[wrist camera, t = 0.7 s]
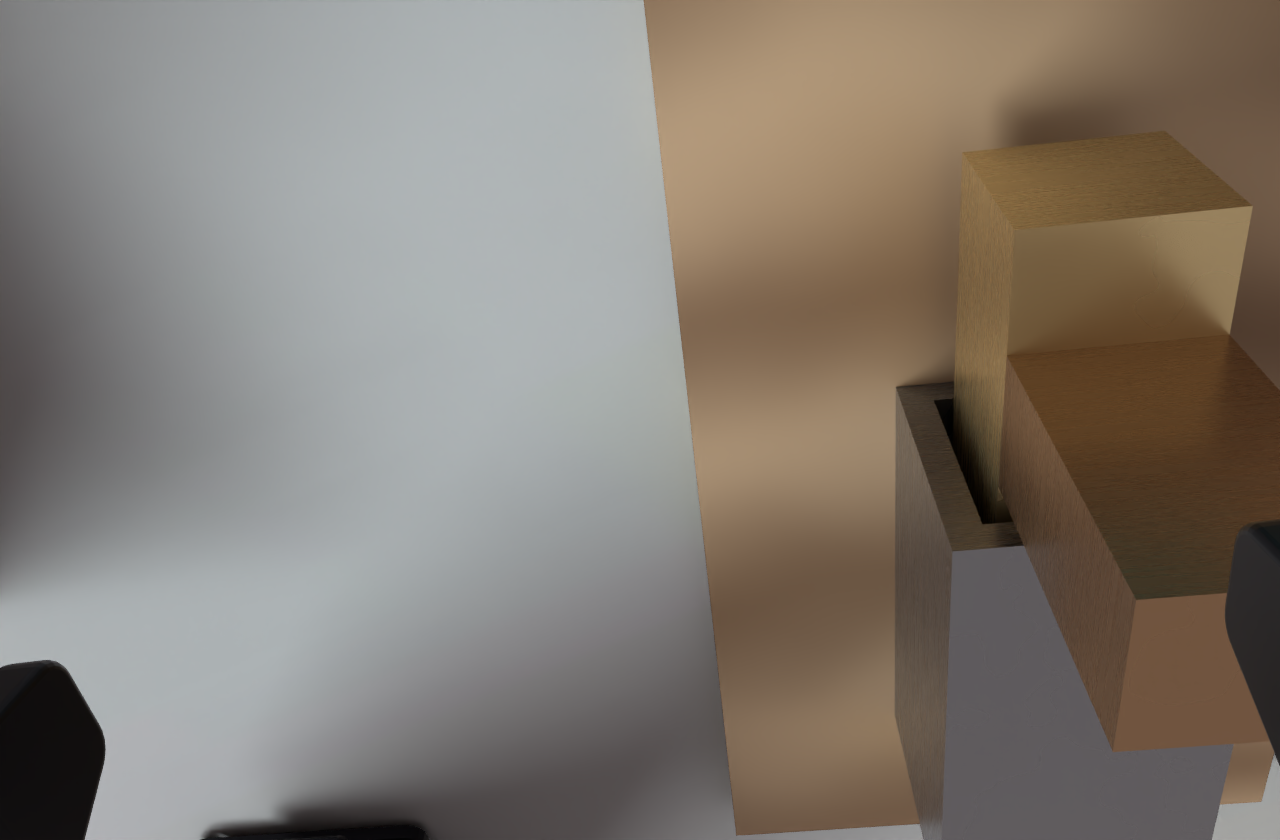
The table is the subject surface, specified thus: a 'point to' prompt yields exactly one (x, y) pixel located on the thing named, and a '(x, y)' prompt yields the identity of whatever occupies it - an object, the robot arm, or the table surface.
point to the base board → (886, 309)
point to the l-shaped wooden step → (1118, 415)
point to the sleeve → (1007, 679)
